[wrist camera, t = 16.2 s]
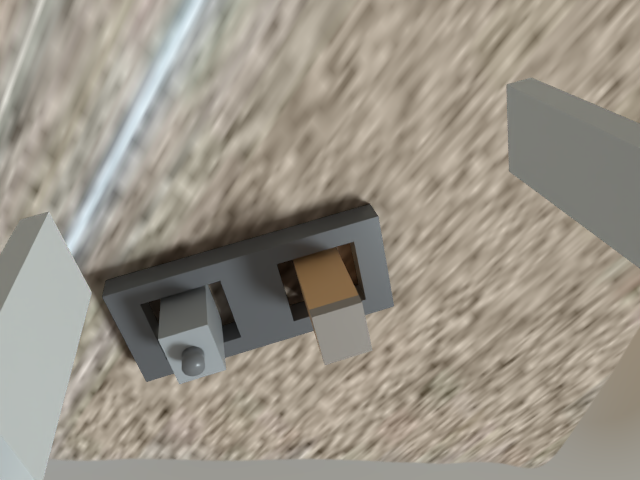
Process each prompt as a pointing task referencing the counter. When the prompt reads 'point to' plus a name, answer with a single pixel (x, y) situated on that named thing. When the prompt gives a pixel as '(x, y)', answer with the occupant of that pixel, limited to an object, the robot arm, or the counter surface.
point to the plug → (332, 305)
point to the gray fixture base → (237, 295)
